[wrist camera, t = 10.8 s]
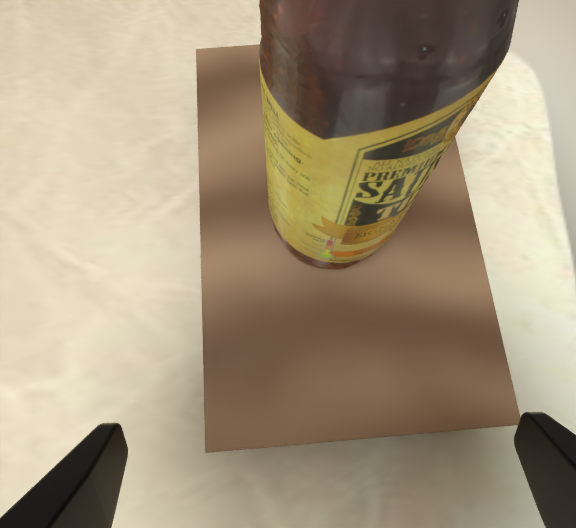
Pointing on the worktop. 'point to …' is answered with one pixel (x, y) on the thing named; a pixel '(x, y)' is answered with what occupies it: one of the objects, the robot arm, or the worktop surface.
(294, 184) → the sauce bottle
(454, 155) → the shelf stand
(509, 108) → the worktop surface
